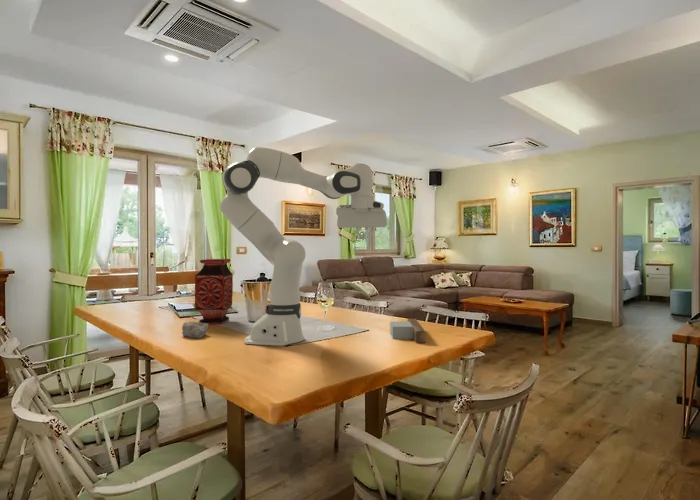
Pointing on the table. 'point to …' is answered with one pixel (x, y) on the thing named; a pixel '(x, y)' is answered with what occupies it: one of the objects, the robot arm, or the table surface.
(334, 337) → the table surface
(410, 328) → the block
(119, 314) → the table surface
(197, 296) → the vase
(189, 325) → the stone
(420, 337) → the dark brown bar
